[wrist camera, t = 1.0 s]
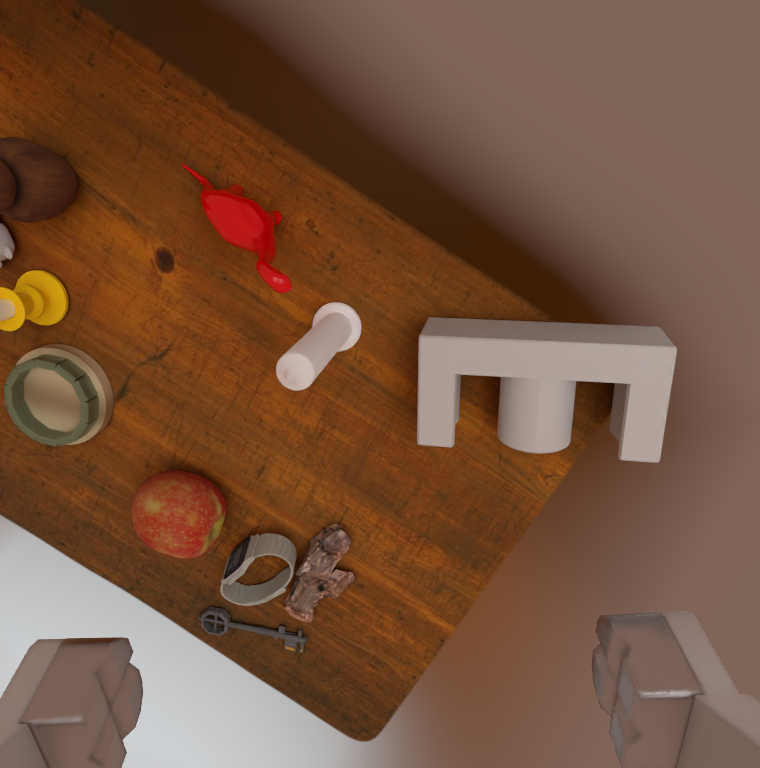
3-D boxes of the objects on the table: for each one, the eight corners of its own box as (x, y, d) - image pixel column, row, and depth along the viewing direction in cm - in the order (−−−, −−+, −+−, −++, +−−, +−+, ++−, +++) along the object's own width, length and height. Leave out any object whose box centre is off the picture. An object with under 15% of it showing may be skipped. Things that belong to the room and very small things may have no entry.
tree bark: (281, 601, 69) (273, 617, 67) (324, 511, 65) (318, 524, 63) (330, 625, 69) (324, 641, 67) (376, 536, 65) (372, 551, 63)
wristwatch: (271, 513, 66) (254, 541, 61) (316, 556, 67) (303, 586, 62) (215, 564, 69) (195, 593, 64) (259, 604, 70) (243, 636, 65)
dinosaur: (193, 144, 56) (115, 140, 44) (341, 245, 56) (302, 268, 45) (173, 184, 57) (92, 191, 46) (318, 283, 58) (274, 314, 46)
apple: (222, 540, 68) (189, 587, 61) (148, 507, 68) (106, 550, 61) (245, 478, 65) (213, 519, 58) (168, 443, 66) (126, 480, 58)
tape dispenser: (660, 326, 54) (678, 347, 48) (645, 432, 57) (659, 463, 51) (427, 316, 57) (418, 335, 51) (425, 417, 60) (416, 445, 55)
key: (196, 633, 71) (197, 608, 70) (200, 627, 72) (201, 602, 71) (304, 656, 70) (307, 631, 69) (307, 649, 71) (309, 624, 70)
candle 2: (340, 359, 60) (291, 424, 45) (303, 327, 59) (242, 381, 45) (371, 325, 58) (331, 380, 44) (334, 291, 58) (281, 336, 43)
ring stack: (18, 334, 64) (-6, 343, 61) (115, 354, 63) (95, 364, 60) (22, 427, 68) (-1, 440, 65) (113, 448, 67) (94, 462, 64)
